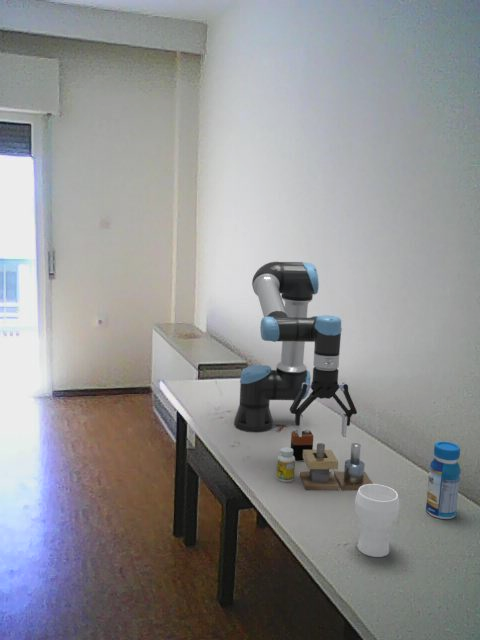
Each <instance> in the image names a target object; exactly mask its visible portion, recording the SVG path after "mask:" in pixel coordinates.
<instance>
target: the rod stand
mask: <svg viewBox="0 0 480 640" xmlns="http://www.w3.org/2000/svg"><path fill="white" fill-rule="evenodd" d="M325 447H326V444H324V443H323V442H318V443H317V444H316V450H317V452H316V458H324V451H325V450H326V449H325ZM299 479H300V480H301V482H302V485H303V488H304V490H305V491H339V488H340V487H339V485H338V483H337V481H336V479H335V477H334V473H332V471H330V469H309V471H299Z"/></svg>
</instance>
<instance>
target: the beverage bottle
mask: <svg viewBox="0 0 480 640" xmlns="http://www.w3.org/2000/svg"><path fill="white" fill-rule="evenodd" d="M433 455H434V458H433V459H432V461H431V462H430V464H429V469H430V471H429V472H428V483H427V494H426V503H425V511H426V512H427V513H428V514H429V515H430V516H432V517H435V518H438V519H442V520H451V519H453V518H455V517H456V516H457V507H458V498H459V490H460V483H461V477H460V474H461V472H462V471H461V470H462V469H461V466H460V464H459V462H458V461H459V459H460V455H461V447H460V446H459V445H458V444H456V443H454V442H450V441H437V442H436V443H434V449H433Z"/></svg>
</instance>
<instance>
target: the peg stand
mask: <svg viewBox="0 0 480 640" xmlns="http://www.w3.org/2000/svg"><path fill="white" fill-rule="evenodd" d="M361 447H362V444H360V443H358V442H354V443H351V447H350V448H351V449H350V459H346V460H345V461H344V469H343V470H344V471H333V476H334V478H335V480H336V482H337V484H338V485H339V487H338V488H340V490H341V491H358V489H359V488H360V487H361V486H363V485H366V484H374V483H373V481H372V480H371V479H370V477H369V476H368V474H367V473H366V471H365V466H366V463H365V462H364V461H362V460H360V459H361Z"/></svg>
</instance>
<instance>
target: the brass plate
mask: <svg viewBox="0 0 480 640" xmlns="http://www.w3.org/2000/svg"><path fill="white" fill-rule="evenodd" d="M316 452H317V449H313V450H303V459H304V460H303V461H304V463H305V465H306V466H305V467H306V468H307V469H308V470H310V469H329V470H338V467H339V460H338V459H337V457H336V455H335V454H334V452H333V451H332V449H325V451H324V458H316Z"/></svg>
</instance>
